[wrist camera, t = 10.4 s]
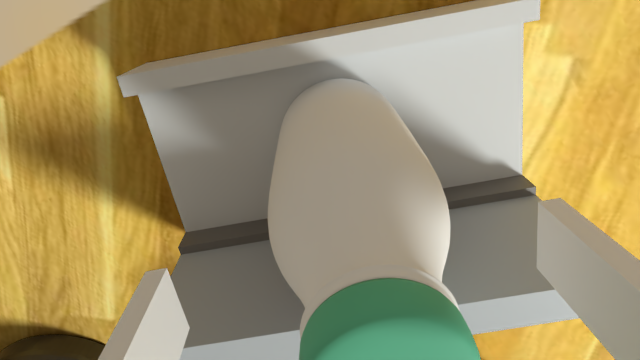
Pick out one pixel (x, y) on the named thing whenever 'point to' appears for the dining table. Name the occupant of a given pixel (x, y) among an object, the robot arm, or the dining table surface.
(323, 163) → the milk bottle
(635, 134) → the dining table surface
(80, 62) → the dining table surface
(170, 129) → the board
